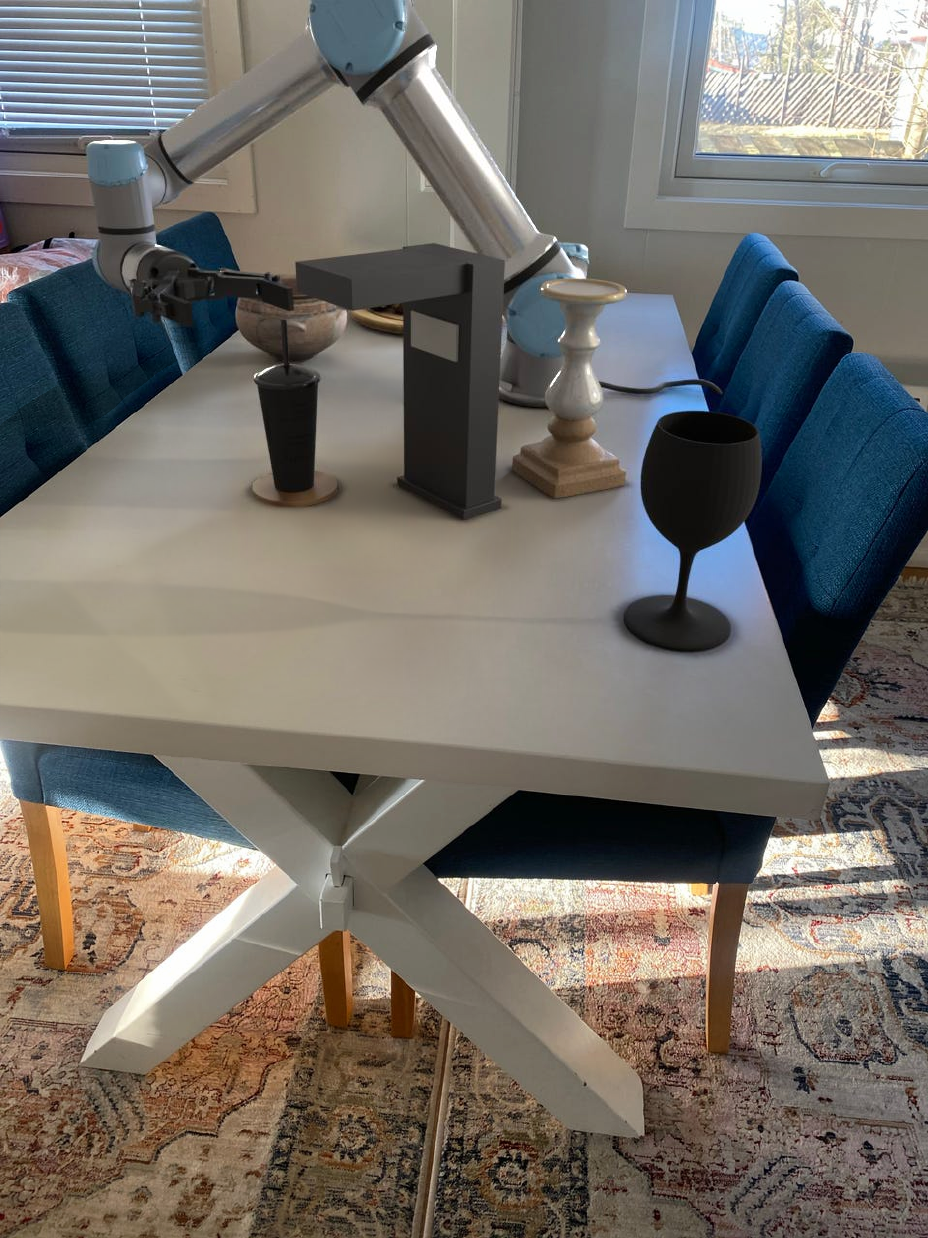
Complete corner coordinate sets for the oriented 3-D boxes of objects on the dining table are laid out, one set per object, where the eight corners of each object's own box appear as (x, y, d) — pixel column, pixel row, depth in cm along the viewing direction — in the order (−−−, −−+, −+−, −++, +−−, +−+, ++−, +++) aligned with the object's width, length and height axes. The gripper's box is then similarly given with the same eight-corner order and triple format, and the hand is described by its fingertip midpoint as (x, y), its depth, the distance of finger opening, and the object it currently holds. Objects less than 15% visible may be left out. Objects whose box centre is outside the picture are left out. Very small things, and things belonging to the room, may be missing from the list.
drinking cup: (313, 500, 116) (304, 331, 106) (253, 493, 118) (238, 325, 107) (333, 476, 123) (326, 315, 113) (276, 470, 124) (264, 310, 114)
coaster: (341, 474, 125) (341, 470, 125) (332, 507, 116) (332, 503, 116) (260, 472, 125) (260, 468, 125) (245, 505, 116) (245, 501, 116)
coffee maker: (433, 474, 126) (436, 241, 111) (501, 507, 117) (513, 260, 103) (303, 513, 115) (287, 259, 100) (367, 552, 106) (360, 281, 92)
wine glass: (612, 598, 99) (635, 407, 88) (712, 596, 100) (746, 407, 89) (636, 654, 90) (665, 448, 80) (746, 651, 91) (787, 447, 80)
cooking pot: (243, 338, 181) (237, 269, 174) (346, 337, 183) (343, 269, 177) (234, 377, 159) (227, 301, 153) (350, 376, 162) (348, 300, 156)
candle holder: (554, 499, 120) (569, 300, 108) (509, 468, 128) (519, 280, 116) (626, 485, 124) (649, 292, 112) (579, 456, 133) (596, 274, 121)
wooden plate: (416, 293, 217) (416, 254, 212) (537, 316, 201) (540, 274, 197) (316, 319, 194) (314, 276, 190) (444, 347, 178) (445, 301, 174)
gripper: (247, 293, 139) (330, 323, 126) (75, 318, 125) (147, 355, 111) (242, 238, 136) (327, 262, 122) (64, 257, 121) (137, 287, 108)
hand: (241, 307), depth 117 cm, fingers open, 13 cm apart
